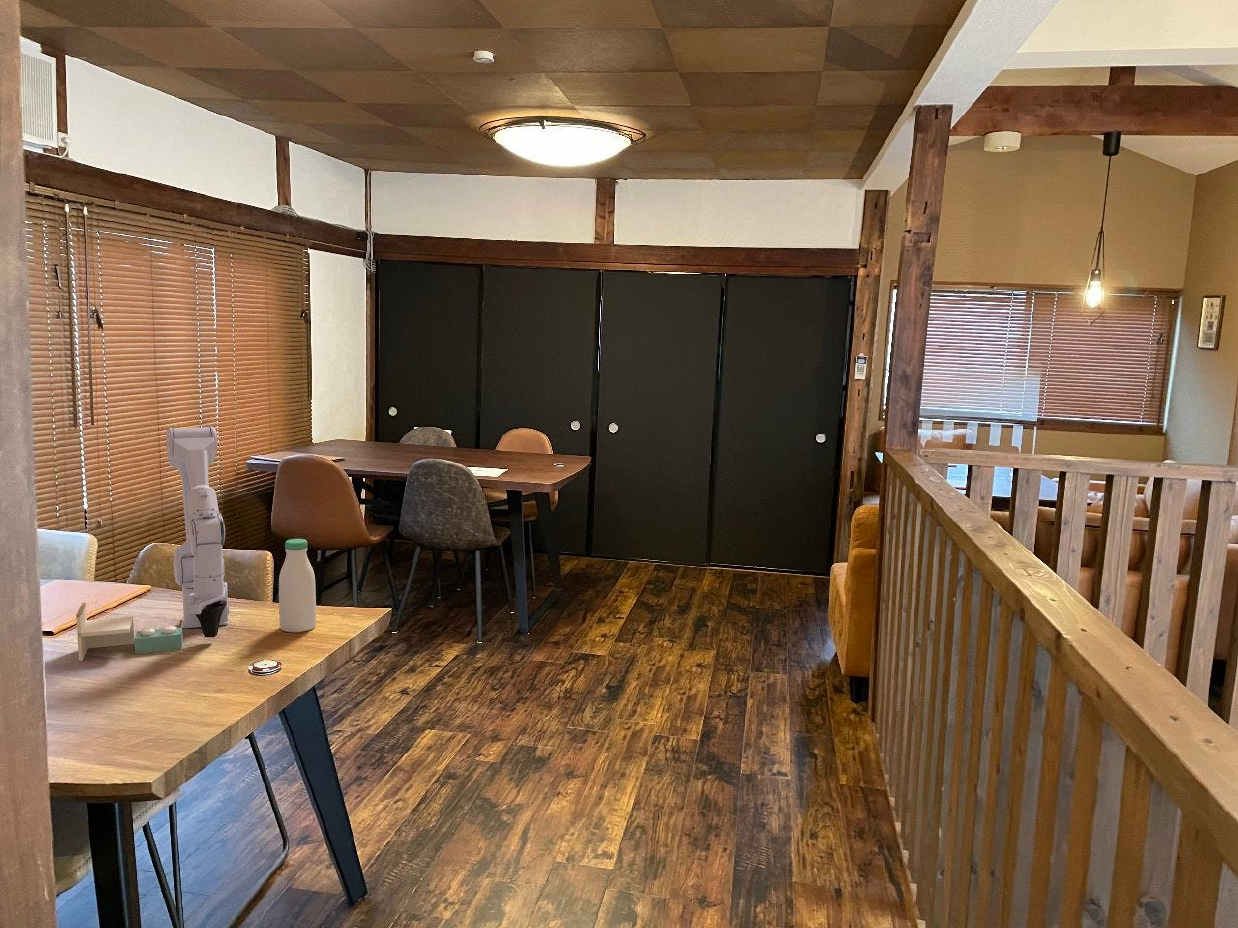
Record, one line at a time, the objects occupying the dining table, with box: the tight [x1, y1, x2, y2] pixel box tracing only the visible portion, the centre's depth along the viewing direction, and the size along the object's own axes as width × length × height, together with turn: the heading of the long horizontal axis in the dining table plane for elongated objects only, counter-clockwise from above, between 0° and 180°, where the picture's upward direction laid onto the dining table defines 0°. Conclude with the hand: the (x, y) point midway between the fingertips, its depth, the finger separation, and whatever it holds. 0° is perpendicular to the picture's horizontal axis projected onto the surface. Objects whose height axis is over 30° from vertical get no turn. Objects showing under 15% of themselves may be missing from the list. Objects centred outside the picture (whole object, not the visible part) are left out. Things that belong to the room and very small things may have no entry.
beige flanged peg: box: [75, 602, 135, 662], centre depth 183 cm, size 9×8×10 cm
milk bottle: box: [278, 538, 317, 633], centre depth 200 cm, size 8×8×20 cm
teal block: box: [134, 625, 184, 654], centre depth 187 cm, size 8×4×4 cm, turn 113°
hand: (210, 636), depth 191 cm, fingers closed
